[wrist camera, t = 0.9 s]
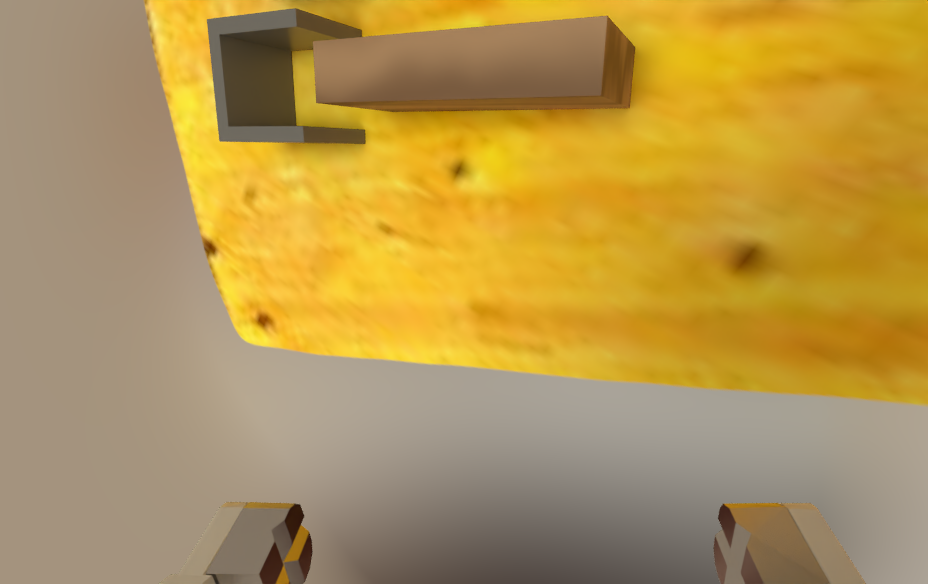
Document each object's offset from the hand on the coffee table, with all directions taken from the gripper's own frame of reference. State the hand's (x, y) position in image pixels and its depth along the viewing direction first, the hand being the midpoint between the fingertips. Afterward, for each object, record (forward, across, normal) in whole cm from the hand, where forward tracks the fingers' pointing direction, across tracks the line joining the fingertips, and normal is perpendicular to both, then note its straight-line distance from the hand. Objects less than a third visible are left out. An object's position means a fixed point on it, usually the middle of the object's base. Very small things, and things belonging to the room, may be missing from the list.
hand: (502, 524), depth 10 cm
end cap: (+43, +16, -5) cm, 46 cm away
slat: (+37, 0, -5) cm, 38 cm away
